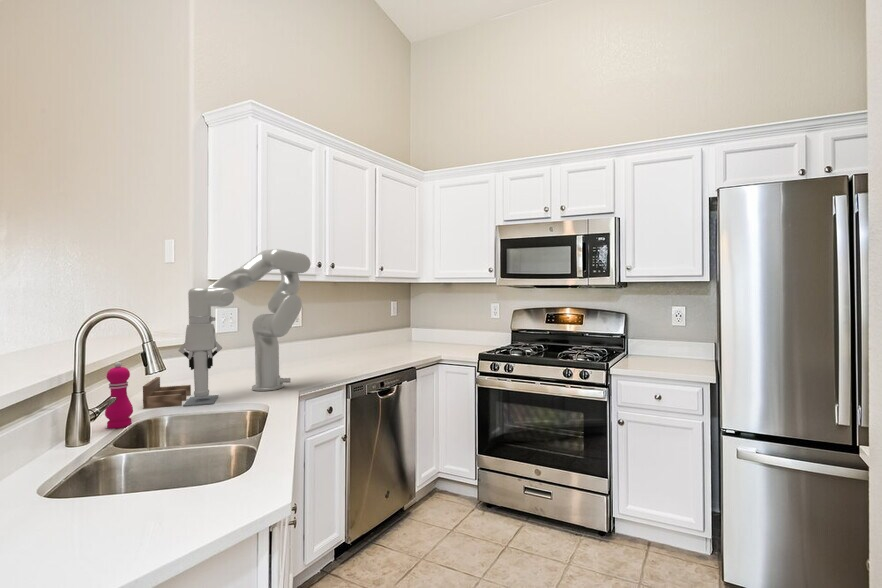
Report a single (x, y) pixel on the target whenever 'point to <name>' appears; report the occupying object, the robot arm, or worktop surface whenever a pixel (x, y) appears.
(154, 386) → the lane rack
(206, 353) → the bottle
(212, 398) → the rubber mat
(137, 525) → the worktop surface
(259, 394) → the worktop surface
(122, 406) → the pepper mill
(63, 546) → the worktop surface
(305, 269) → the robot arm
